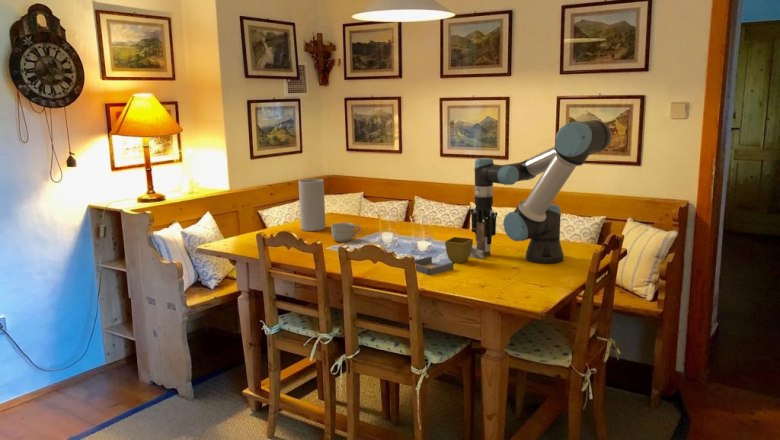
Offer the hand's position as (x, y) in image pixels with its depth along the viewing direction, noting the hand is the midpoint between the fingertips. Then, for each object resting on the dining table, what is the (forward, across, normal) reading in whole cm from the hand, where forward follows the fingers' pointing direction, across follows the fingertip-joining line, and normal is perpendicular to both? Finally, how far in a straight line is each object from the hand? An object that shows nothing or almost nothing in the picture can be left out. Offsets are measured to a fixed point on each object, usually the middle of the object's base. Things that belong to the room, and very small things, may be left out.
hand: (483, 250), depth 270 cm
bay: (+2, 0, -29) cm, 29 cm away
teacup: (+2, -62, -28) cm, 68 cm away
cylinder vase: (+2, -95, -26) cm, 99 cm away
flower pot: (+2, 0, -14) cm, 14 cm away
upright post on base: (+2, 0, -2) cm, 3 cm away
